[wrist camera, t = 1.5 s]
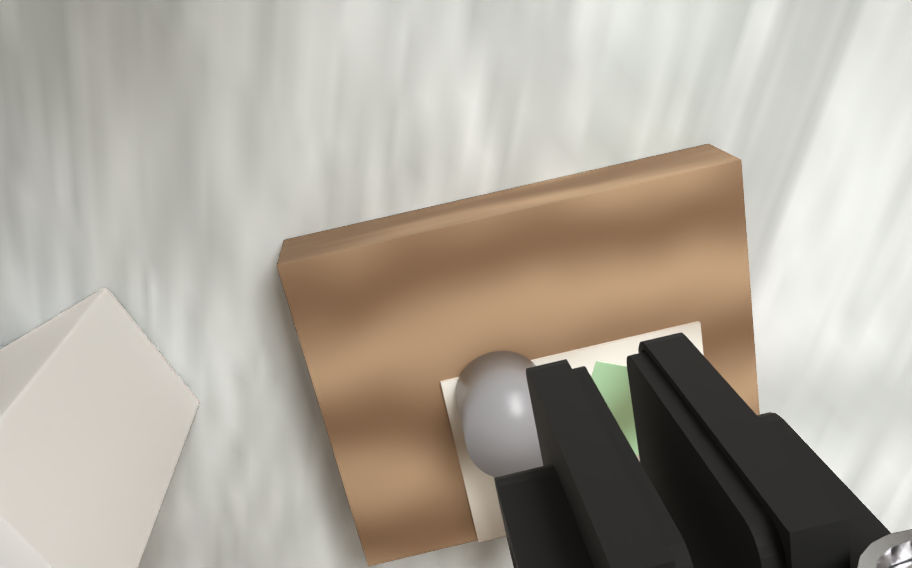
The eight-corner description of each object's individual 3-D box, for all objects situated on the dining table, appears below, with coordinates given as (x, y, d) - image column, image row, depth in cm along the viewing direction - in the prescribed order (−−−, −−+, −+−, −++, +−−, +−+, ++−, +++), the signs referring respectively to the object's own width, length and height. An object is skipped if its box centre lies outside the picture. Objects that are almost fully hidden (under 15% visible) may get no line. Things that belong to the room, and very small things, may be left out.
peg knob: (447, 362, 36) (457, 407, 32) (535, 341, 36) (555, 384, 33) (490, 549, 40) (504, 609, 36) (570, 530, 40) (591, 587, 36)
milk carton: (202, 400, 40) (75, 743, 22) (81, 469, 40) (-136, 857, 23) (107, 283, 37) (-122, 566, 19) (-20, 360, 38) (-354, 701, 20)
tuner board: (284, 239, 37) (276, 267, 34) (708, 143, 38) (743, 160, 34) (367, 521, 43) (368, 569, 40) (733, 434, 44) (765, 474, 40)
